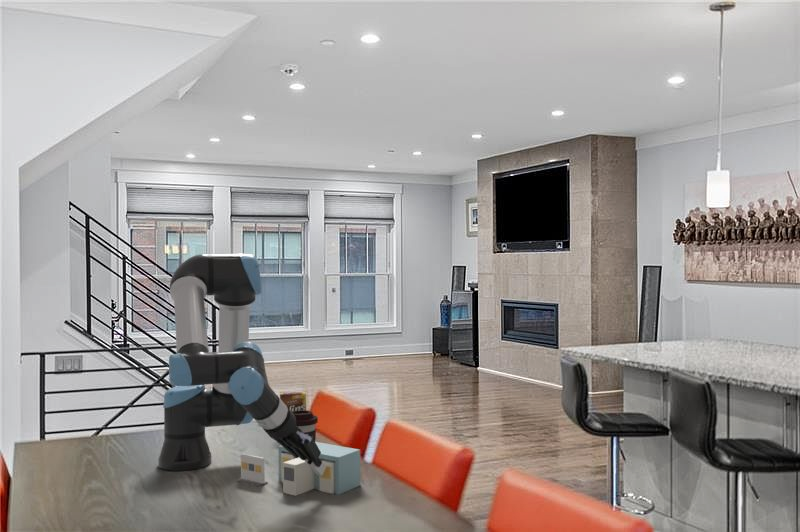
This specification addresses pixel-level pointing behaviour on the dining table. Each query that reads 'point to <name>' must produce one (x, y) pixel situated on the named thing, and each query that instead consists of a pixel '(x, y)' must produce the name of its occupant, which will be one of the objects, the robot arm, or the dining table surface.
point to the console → (337, 465)
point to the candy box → (294, 400)
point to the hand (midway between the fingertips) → (322, 470)
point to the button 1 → (285, 457)
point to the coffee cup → (306, 421)
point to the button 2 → (328, 477)
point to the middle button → (297, 477)
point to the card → (252, 470)
